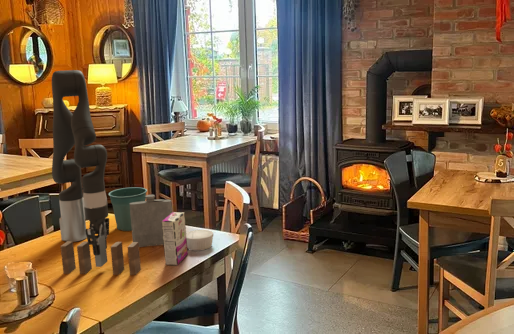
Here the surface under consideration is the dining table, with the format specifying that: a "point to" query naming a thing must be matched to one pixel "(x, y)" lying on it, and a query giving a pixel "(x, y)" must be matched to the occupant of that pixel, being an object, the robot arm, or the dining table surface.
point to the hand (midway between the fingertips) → (100, 251)
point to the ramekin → (199, 239)
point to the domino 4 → (117, 258)
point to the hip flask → (149, 220)
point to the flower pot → (125, 205)
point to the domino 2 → (84, 257)
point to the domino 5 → (134, 258)
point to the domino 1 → (68, 257)
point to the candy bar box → (174, 238)
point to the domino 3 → (101, 252)
